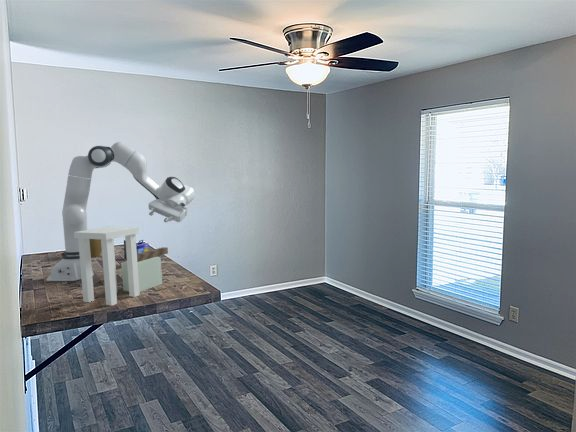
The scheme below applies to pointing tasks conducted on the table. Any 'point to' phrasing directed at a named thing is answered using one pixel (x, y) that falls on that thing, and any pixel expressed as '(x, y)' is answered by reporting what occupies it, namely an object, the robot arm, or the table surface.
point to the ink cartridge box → (142, 247)
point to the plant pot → (95, 247)
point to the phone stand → (125, 250)
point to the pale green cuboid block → (144, 274)
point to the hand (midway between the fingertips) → (157, 217)
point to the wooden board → (152, 254)
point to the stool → (108, 261)
